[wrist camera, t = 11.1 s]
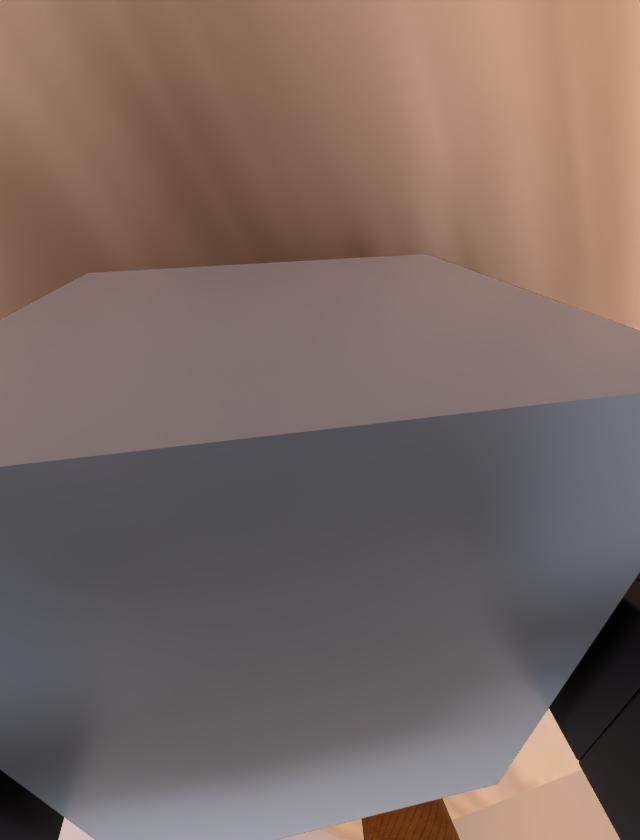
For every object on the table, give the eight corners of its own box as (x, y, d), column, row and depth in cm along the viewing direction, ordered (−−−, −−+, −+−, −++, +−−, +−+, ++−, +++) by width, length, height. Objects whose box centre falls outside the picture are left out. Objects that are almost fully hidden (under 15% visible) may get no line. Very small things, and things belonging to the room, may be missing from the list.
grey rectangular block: (425, 253, 9) (769, 378, 3) (393, 538, 14) (497, 784, 8) (87, 273, 8) (-353, 506, 2) (187, 570, 13) (141, 873, 7)
